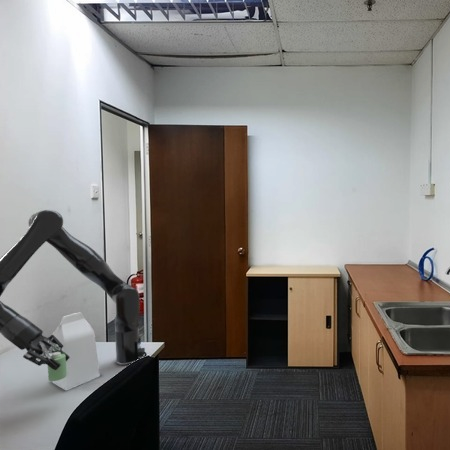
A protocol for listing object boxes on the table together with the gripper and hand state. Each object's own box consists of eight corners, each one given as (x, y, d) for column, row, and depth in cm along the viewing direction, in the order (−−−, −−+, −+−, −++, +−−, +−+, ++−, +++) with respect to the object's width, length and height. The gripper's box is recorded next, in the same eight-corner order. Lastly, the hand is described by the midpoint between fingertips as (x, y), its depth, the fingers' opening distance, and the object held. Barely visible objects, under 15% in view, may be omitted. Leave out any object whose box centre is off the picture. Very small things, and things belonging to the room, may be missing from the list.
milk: (65, 390, 123) (61, 321, 121) (51, 382, 129) (47, 316, 127) (99, 376, 133) (96, 312, 131) (85, 368, 139) (81, 307, 138)
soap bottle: (69, 372, 117) (67, 349, 117) (62, 380, 113) (61, 355, 112) (52, 374, 116) (51, 350, 116) (45, 382, 111) (44, 357, 111)
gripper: (15, 332, 105) (59, 365, 108) (42, 316, 119) (81, 346, 122) (-3, 349, 104) (42, 383, 107) (27, 332, 118) (66, 362, 121)
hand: (62, 363), depth 114 cm, fingers closed on soap bottle, 5 cm apart
